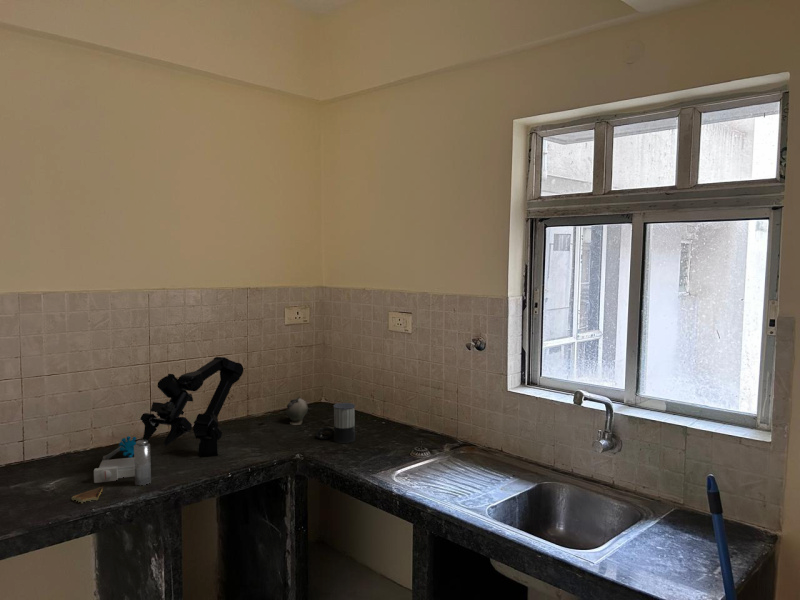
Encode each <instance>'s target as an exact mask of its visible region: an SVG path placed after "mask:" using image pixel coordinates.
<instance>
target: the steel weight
mask: <svg viewBox="0 0 800 600" xmlns="http://www.w3.org/2000/svg"><path fill="white" fill-rule="evenodd" d="M135 442H136V444H135V445H134V455H133V457H134V468H135V476H134V485H135V486H137V485H140V486H139V487H141V485H143V486H147V485H146V484H148V485H150V484H151V483H152V469H151V468H152V465H151V443H149V439H148V440H143V439H139V440H135ZM149 483H150V484H149Z"/></svg>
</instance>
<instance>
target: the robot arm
mask: <svg viewBox="0 0 800 600" xmlns="http://www.w3.org/2000/svg"><path fill="white" fill-rule="evenodd" d="M244 370H245V369H244V367H243V364H242V363H240V362H236V361H233V360H231V359H229V358H227V357H224V356H216V357H214V358H213V359H212V360H210V361H209V362H207V363H205V364H204V365H203V366H201V367H200V368H198V369H196V370H195V371H194V370H193V371H191V372H186V373H184V374H182V375H180V376H179V377H178V378H177V377H176V375H175V374H174V373H167V375H166V376H164V377H162V378H161V379H159V381H158V382H157V388H158V389H159V390H160V392H162V393H163V395H164V396H166V398H168V399H169V401H166V402H164V403H163V402H155V401H153V402H152V404H151V408H150V410H149V412H145V413H144V412H143V413H142V415H141V417H140V421H142V423H143V425H144V432H143V437H142V440H148V441H149V440H150V438H151V437H152V436H153V435H154V434H155V432H157V430H158V429H157V428H158V427H159V426H160V425H166V426H170V430H169V432H168V433H167V436H166V437H165V440H164V442H163V446H165V447H167V446H168V445H169V444H171V443H172V442H173V441H175V440H176V439H178V438H179V437H181V436H182V435H185V434H186V433H190V432H191V430H193V433H194V437H195V439H199V442H198V455H199V457H200V458H204V457H206V458H207V457H214V456H218V455H219V453H218V452H219V451H218V441H219V440H220V439H222V435H223V432H222V430H220V428H218V426H219V414H220V413H221V410H222V408H223V407H224V406H223V405H224V404H225V402H226V400H227V397H228V395H229V393H230V390H231V389H232V386H233V385H234V384H235V383H237V382H238V381H239V380H240V379H241V377H242V375H243V374H244ZM217 372H219V377H220V380H219V383H218V385H217V387H216V389H215V391H214V393H213V395H212V397H211V400H210V401H209V404H208V405H207V408H206V410H205V411H204V412H203V413H198V414H197V415H196V419H195V420H194V421H193V424H192V423H191V422H190V420H188V419H187V417H185V416H184V413H185V412H184V409H185V407H186V406H187V405H186V404H187V403H188V402H193V401H194V398H193V394H192V393H189V392H197V391H198V390H199V389H200V388H201V387H202V386H203V385H204V383H205V381H206V380H207V379H209V378H210V377H212V376H213V375H214V374H216V373H217ZM150 412H151V413H150ZM152 412H153V413H152ZM154 413H156V415H157V416H156V415H155V414H154ZM182 416H183V417H182ZM192 425H193V426H192Z"/></svg>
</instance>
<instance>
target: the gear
mask: <svg viewBox="0 0 800 600" xmlns="http://www.w3.org/2000/svg"><path fill="white" fill-rule="evenodd" d="M130 439H131V440H130ZM126 440H127V442H126ZM136 441H137V437H136V436H133V437H132V438H131V436H129V435H127V436H126V438H125V437H124V438H122V439H121V441H120V442H119V443H118V447H120V446H122V447H120V451H119V452H123V453H122V455H123V457H127V458H132V457H134V445H135V444H136ZM123 443H124V444H125V445H124V444H123ZM123 447H124V448H125V449H124V448H123Z"/></svg>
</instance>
